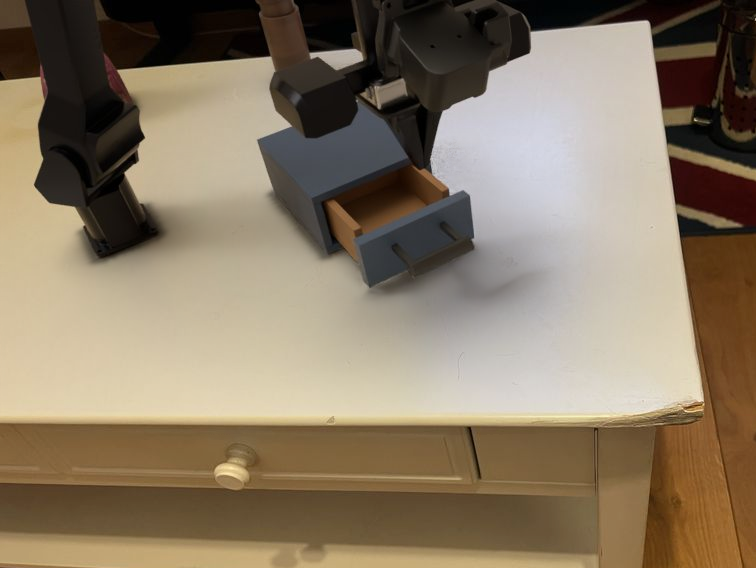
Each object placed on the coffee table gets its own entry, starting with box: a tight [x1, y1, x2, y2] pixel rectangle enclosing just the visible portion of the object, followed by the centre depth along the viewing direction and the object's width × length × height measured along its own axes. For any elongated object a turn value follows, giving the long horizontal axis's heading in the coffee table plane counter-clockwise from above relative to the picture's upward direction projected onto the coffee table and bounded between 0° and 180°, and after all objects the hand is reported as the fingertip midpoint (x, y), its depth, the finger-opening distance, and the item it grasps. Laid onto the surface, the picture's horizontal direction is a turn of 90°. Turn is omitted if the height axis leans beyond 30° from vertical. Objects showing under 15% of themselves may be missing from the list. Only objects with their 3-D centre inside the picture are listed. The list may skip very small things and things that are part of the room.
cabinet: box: [256, 100, 434, 255], centre depth 75 cm, size 14×13×7 cm
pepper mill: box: [255, 0, 312, 72], centre depth 93 cm, size 5×5×14 cm
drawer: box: [321, 164, 475, 288], centre depth 68 cm, size 17×11×5 cm
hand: (421, 167), depth 58 cm, fingers closed
